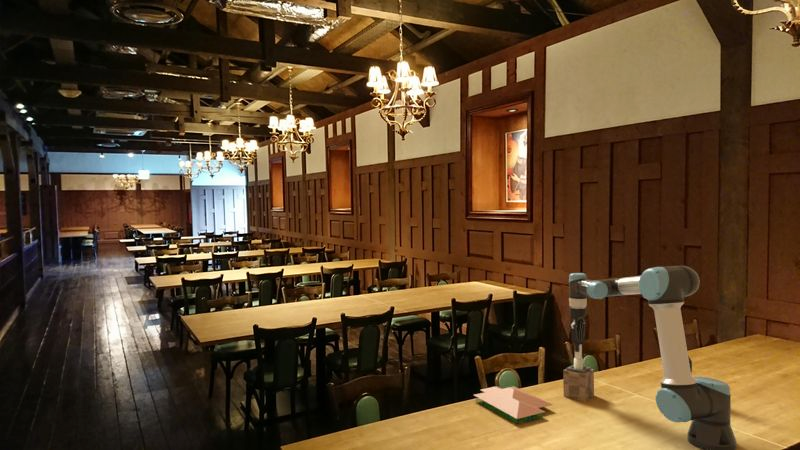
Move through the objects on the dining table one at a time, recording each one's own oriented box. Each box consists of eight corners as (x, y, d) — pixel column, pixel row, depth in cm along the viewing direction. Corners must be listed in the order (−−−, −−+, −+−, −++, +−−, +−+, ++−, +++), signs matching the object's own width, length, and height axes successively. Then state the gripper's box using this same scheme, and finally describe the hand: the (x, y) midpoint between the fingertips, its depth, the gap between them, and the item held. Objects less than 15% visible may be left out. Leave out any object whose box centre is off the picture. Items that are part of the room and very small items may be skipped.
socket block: (584, 401, 226) (584, 372, 226) (563, 396, 233) (563, 368, 233) (594, 395, 233) (593, 367, 233) (573, 390, 240) (572, 363, 240)
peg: (581, 386, 230) (580, 360, 230) (572, 385, 233) (572, 359, 233) (584, 384, 233) (584, 358, 233) (576, 382, 236) (576, 357, 236)
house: (510, 391, 242) (509, 374, 242) (560, 415, 212) (560, 396, 212) (469, 400, 232) (469, 382, 231) (516, 426, 202) (516, 406, 202)
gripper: (576, 304, 239) (576, 353, 240) (563, 308, 230) (564, 359, 231) (591, 305, 234) (592, 356, 235) (579, 310, 225) (580, 363, 225)
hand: (578, 358), depth 233 cm, fingers closed
